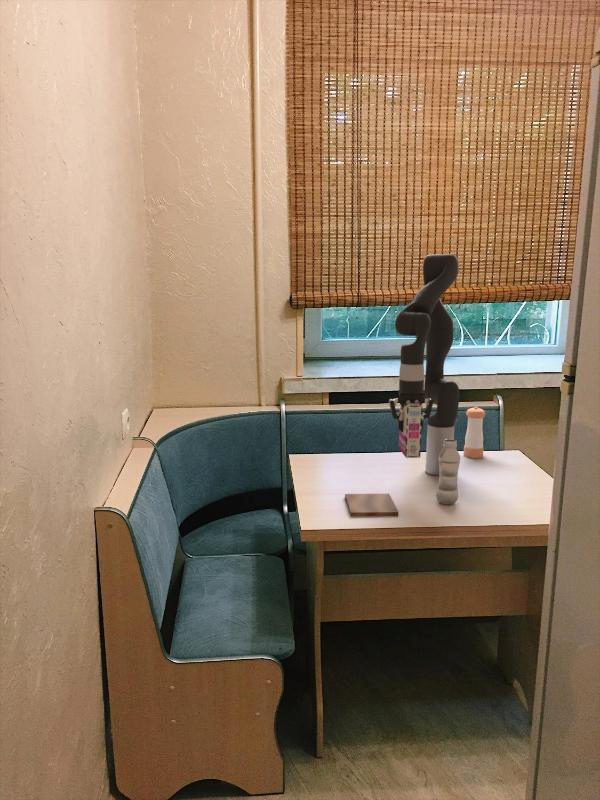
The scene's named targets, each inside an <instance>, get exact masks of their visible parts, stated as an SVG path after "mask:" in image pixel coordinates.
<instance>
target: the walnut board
mask: <svg viewBox="0 0 600 800" xmlns="http://www.w3.org/2000/svg"><path fill="white" fill-rule="evenodd" d="M344 499H345V502H346V506H347V509H348V512H349V515H350V517H397V516H398V517H399V510H398V508H397V507H396V504H395V502H394V500H393V498H392V496H391V495H390V493H345V494H344Z"/></svg>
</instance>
